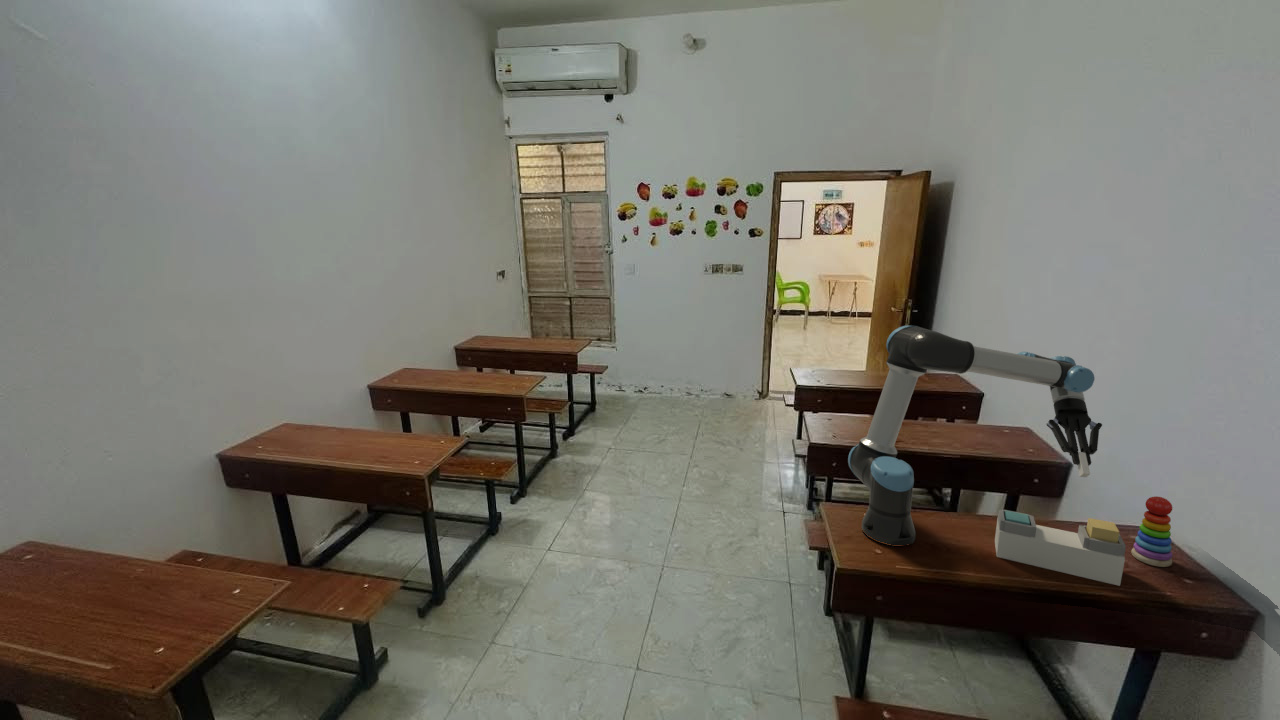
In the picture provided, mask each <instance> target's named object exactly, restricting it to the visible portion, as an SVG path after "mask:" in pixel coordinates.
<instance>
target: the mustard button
mask: <svg viewBox="0 0 1280 720" xmlns="http://www.w3.org/2000/svg"><path fill="white" fill-rule="evenodd" d="M1086 523H1087V525H1086V526H1087V529H1086V530H1087V532H1088V534H1089V537H1090V538H1094V539H1099V540H1104V541H1109V542H1114V543H1118V538H1119V534H1120V530H1119V528H1118V527H1117V525H1116V523H1115V522H1112V521H1106V520H1102V519H1096V518H1090V517H1088V518H1087V522H1086Z"/></svg>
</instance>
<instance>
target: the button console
mask: <svg viewBox="0 0 1280 720" xmlns="http://www.w3.org/2000/svg"><path fill="white" fill-rule="evenodd" d="M1005 510H1006V511H1009V510H1007V509H998V516H997V519H996V528H995V535H994V546H995V553H996V554H995V555H996V557H997V558H1000V559H1004V560H1008V561H1013V562H1017V563H1021V564H1026V565H1030V566H1034V567H1037V568H1043V569H1045V570H1051V571H1055V572H1060V573H1064V574H1068V575H1073V576H1076V577H1081V578H1084V579H1088V580H1093V581H1097V582H1101V583H1106V584H1110V585H1115V586H1119V587H1120V586H1121V583H1122V579H1123V578H1122V577H1123V572H1124V567H1125V560H1126V557H1125V553H1126V547H1127V545H1126V543H1125V541H1124V540H1123V538H1122V536H1121V535H1120V533H1119V538H1118V543H1114V542H1109V541H1104V540H1099V539H1094V538H1090V537H1089V534H1088V532H1087V530H1086V529H1087V525H1085V524H1083V525H1082V524H1081V525H1080V524H1079V525H1078V531H1077V532H1074V531H1069V530H1063V529H1059V528H1053V527H1049V526H1045V525H1038V524H1036V521H1035V517H1034V515H1031V514H1028V513H1026V514H1027V515H1028V518H1029V521H1030V525H1025V524H1020V523H1015V522H1010V521H1005V518H1004V517H1005ZM1010 511H1011V512H1016V513H1021V514H1025V513H1024V512H1018V511H1013V510H1010Z"/></svg>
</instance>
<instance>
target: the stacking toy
mask: <svg viewBox="0 0 1280 720" xmlns="http://www.w3.org/2000/svg"><path fill="white" fill-rule="evenodd" d="M1145 508H1146V509H1147V510H1146V511H1145V512H1144V513H1143V516H1144V518H1143V519H1141V523H1140V525H1139V530H1137V535H1136V537H1135V539H1134V540H1135V542H1134V543H1133V547H1132V549H1130V551H1131V555H1132V557H1134V558H1135V559H1137V560H1138V561H1140V562H1142V563H1144V564H1146V565H1150V566H1153V567H1159V568H1165V567H1166V568H1167V567H1170V566H1171V565H1173V560H1172V558H1173V552H1172V548H1173V546H1172V545H1171V544H1172V538H1171V535H1172V533H1171V529H1172V526H1171V524H1170V522H1171V517H1170V516H1169V515H1170V514H1171V513H1172V511H1173V505H1172V502H1171V501H1169V500H1168V499H1166V498H1165V497H1161V496H1150V497H1149V498H1147V499H1146V501H1145Z"/></svg>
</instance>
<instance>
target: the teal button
mask: <svg viewBox="0 0 1280 720" xmlns="http://www.w3.org/2000/svg"><path fill="white" fill-rule="evenodd" d="M1004 510H1005V517H1004V518H1005V521H1010V522H1015V523H1020V524H1025V525H1030V521H1029V518H1028V515H1027V514H1028V513H1024V514H1021V513H1022V512H1019V513H1016V512H1017V511H1014V512H1011V511H1012V510H1008V511H1006V510H1007V509H1004Z"/></svg>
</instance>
